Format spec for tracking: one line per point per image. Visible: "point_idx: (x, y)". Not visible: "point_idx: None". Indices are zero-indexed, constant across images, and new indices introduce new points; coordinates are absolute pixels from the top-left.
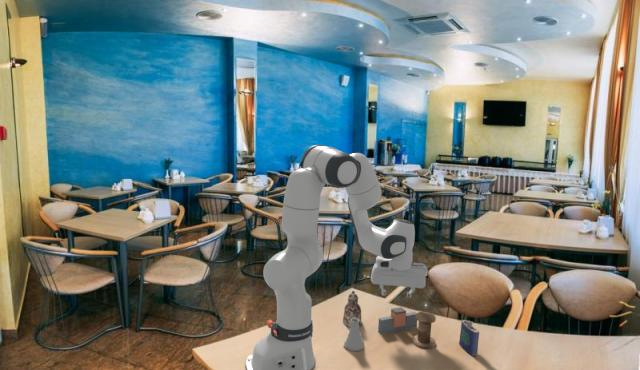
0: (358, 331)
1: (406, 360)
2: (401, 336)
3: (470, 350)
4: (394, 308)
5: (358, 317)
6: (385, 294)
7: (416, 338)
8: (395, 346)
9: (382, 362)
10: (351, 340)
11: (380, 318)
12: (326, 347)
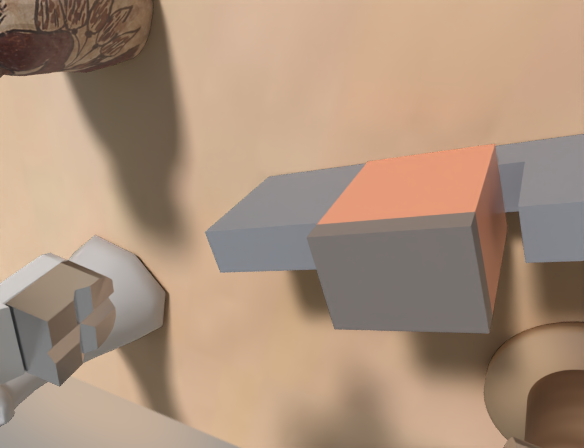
0: None
1: None
2: None
3: None
4: (350, 239)
5: (83, 63)
6: (90, 342)
7: (531, 373)
8: (342, 362)
9: (240, 437)
10: None
11: (218, 240)
12: (10, 259)
